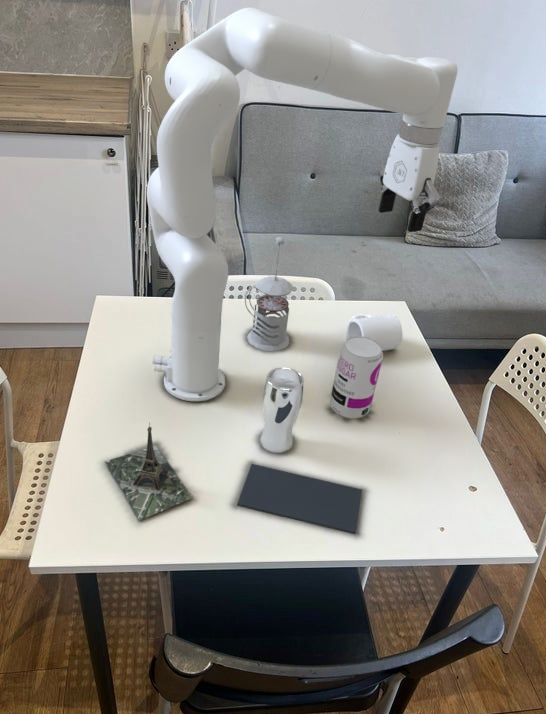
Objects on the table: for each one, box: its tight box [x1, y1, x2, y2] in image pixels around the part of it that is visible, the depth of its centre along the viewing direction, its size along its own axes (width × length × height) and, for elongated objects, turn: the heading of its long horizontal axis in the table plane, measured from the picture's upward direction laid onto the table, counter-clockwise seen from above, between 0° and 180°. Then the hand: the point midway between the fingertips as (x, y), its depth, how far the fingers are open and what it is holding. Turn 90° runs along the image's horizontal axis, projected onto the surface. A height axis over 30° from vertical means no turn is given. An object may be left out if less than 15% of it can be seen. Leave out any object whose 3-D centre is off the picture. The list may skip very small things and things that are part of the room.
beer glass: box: [259, 366, 305, 454], centre depth 115 cm, size 7×7×15 cm
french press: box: [244, 236, 294, 352], centre depth 139 cm, size 10×12×25 cm
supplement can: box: [329, 336, 384, 420], centre depth 125 cm, size 8×8×15 cm
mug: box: [346, 313, 403, 352], centre depth 146 cm, size 12×10×8 cm
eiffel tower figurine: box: [104, 421, 194, 521], centre depth 105 cm, size 15×10×13 cm
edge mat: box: [236, 463, 363, 535], centre depth 109 cm, size 20×10×1 cm, turn 77°
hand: (399, 221), depth 129 cm, fingers open, 9 cm apart
